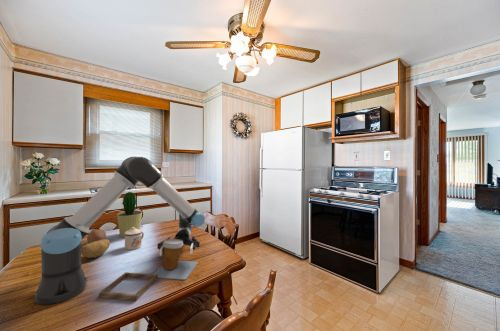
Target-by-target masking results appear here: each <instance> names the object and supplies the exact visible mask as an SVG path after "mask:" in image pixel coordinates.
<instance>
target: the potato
mask: <svg viewBox="0 0 500 331" xmlns="http://www.w3.org/2000/svg"><path fill="white" fill-rule="evenodd" d="M110 246H111V242H110V240H109V239H106V238H105V239H103V240H99V241H95V242H92V243H89V242H88V243H87V244H85V245H83V246H81V256H83V257H84V258H88V259H95V258H98V257H101V256H103V255H104V253H105V252H106V251H107V250H108V249H109V247H110Z"/></svg>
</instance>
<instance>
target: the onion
mask: <svg viewBox="0 0 500 331" xmlns="http://www.w3.org/2000/svg"><path fill="white" fill-rule="evenodd" d="M86 236H87V237H86V240H87V242H88V244H89V243H92V242H95V241H99V240H103V239H106V238H107V234H106V232H105V231H104V230H103V229H96V228H93V229H92V230H90V231H89V233H88V234H87V235H86Z"/></svg>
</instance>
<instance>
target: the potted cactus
mask: <svg viewBox="0 0 500 331" xmlns="http://www.w3.org/2000/svg"><path fill="white" fill-rule="evenodd" d="M121 199H122V202H121V203H120V204H122V206H123V211H122V212H118V213H117V214H116V218H117V224H118V230H119V235H120V238H125V235H124V234H125V232H126V231H129V230H130V229H131V228H132V227H135V229H139V230H141V223H142V218H143V211H141V210H135V209H136V205H137V202H138V201H137V200H138V199H137V197H136V195H135V193H134V191H132V192H131V191H128V192H126V193H124V194H123V196H122V198H121Z"/></svg>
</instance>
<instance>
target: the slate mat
mask: <svg viewBox="0 0 500 331" xmlns="http://www.w3.org/2000/svg"><path fill="white" fill-rule="evenodd" d="M198 263H199V261H192V260H191V261H190V260H179V261H178V265H177V268H175V269H170V270H168V269H164V268H163V264H162V265H161V266H160V267H159V268H158V269H156V271H155V272H154V273H153V274H156V275H158V279H166V280H181V281H186V280H187V279H188V278H189V277H190V275H191V273H192V272H193V271H194V269H195V268H196V266H197V265H198Z"/></svg>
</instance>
